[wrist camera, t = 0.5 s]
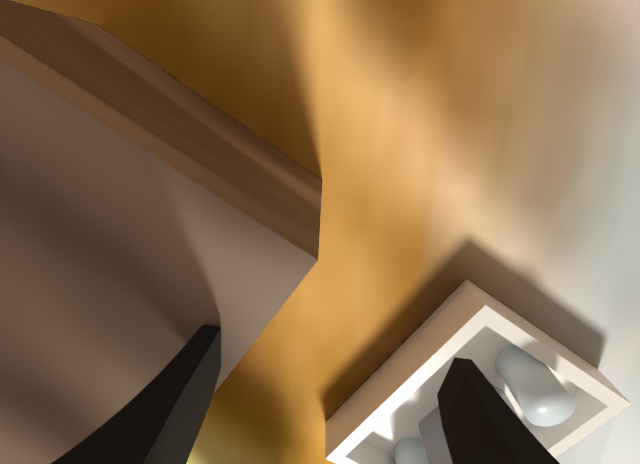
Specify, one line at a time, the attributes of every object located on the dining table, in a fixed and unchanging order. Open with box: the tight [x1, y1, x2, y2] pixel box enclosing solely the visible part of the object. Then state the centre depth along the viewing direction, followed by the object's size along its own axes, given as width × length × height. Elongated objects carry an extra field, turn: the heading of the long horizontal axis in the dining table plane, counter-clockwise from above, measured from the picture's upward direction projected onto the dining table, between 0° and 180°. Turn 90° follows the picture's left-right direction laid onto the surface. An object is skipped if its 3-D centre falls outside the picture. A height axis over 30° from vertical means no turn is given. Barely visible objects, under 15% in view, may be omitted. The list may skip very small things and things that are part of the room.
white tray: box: [325, 279, 631, 464], centre depth 24 cm, size 16×13×6 cm
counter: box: [0, 0, 322, 464], centre depth 18 cm, size 24×14×10 cm, turn 145°
